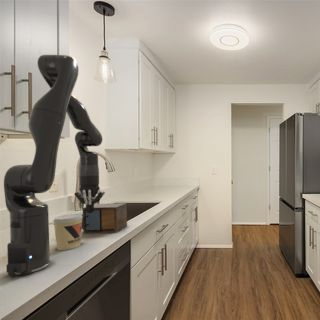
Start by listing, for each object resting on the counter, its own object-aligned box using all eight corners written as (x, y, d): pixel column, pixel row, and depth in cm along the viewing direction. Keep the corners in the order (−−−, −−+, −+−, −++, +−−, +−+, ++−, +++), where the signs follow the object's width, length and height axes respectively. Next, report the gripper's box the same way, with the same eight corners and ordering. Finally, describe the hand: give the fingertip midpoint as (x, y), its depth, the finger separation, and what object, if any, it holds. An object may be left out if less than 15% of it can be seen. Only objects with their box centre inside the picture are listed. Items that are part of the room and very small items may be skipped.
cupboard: (116, 232, 111) (116, 207, 111) (83, 233, 112) (82, 207, 111) (127, 226, 121) (126, 203, 121) (96, 227, 122) (95, 203, 121)
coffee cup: (68, 251, 89) (67, 219, 89) (48, 250, 91) (47, 219, 91) (88, 242, 98) (88, 214, 98) (70, 241, 100) (69, 213, 100)
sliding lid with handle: (94, 232, 108) (93, 212, 108) (80, 232, 108) (79, 212, 108) (100, 229, 112) (100, 209, 112) (86, 229, 112) (86, 210, 112)
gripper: (68, 175, 104) (69, 214, 103) (98, 174, 103) (99, 214, 103) (80, 174, 111) (81, 211, 111) (108, 173, 111) (109, 210, 111)
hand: (90, 212), depth 107 cm, fingers closed
